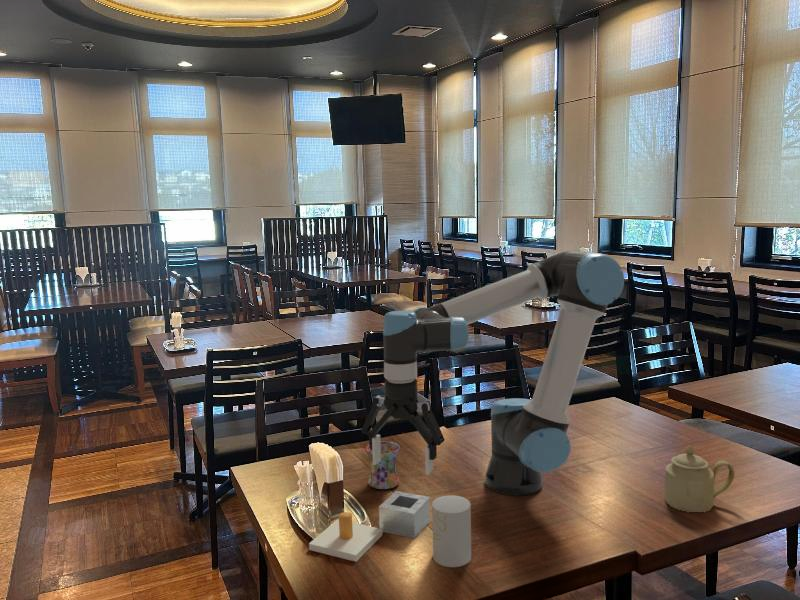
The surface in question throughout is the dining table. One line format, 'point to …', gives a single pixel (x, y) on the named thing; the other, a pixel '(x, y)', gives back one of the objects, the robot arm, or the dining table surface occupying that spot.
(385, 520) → the grey block with hole
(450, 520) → the white upright cylinder
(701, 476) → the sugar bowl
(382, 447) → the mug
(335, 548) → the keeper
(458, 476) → the dining table surface
